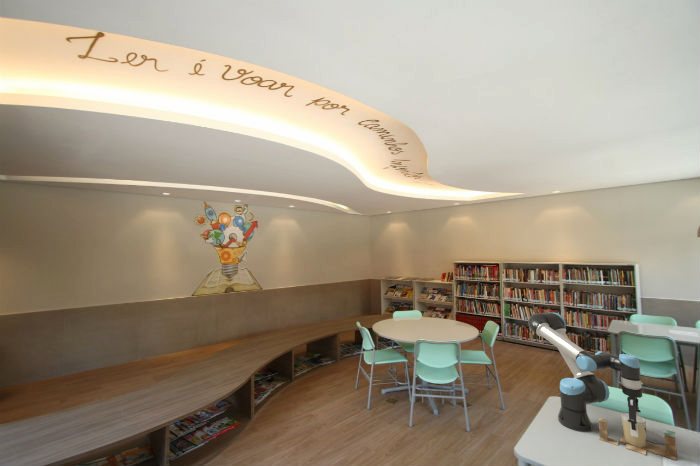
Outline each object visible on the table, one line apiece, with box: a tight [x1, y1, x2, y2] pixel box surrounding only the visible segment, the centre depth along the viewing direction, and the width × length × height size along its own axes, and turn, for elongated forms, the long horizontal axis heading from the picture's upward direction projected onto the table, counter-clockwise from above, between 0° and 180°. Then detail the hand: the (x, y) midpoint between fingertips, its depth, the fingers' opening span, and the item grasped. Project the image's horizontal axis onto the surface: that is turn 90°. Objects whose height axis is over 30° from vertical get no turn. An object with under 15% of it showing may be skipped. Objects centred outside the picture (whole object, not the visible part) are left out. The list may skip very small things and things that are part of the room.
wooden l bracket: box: [620, 428, 678, 461], centre depth 149 cm, size 19×8×10 cm, turn 44°
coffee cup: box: [620, 412, 647, 447], centre depth 152 cm, size 9×9×12 cm
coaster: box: [646, 429, 665, 445], centre depth 157 cm, size 12×12×1 cm
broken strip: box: [598, 417, 647, 456], centre depth 150 cm, size 17×4×10 cm, turn 44°
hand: (635, 430), depth 152 cm, fingers open, 13 cm apart
